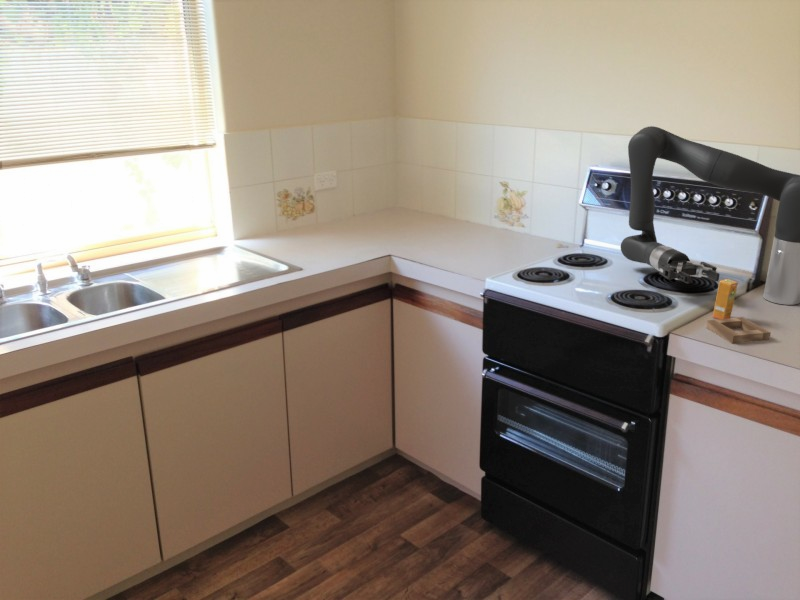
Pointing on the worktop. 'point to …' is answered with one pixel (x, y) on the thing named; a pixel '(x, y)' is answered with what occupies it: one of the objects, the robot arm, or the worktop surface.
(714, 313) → the supplement box
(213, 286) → the worktop surface
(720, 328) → the socket board
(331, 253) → the worktop surface
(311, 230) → the worktop surface
